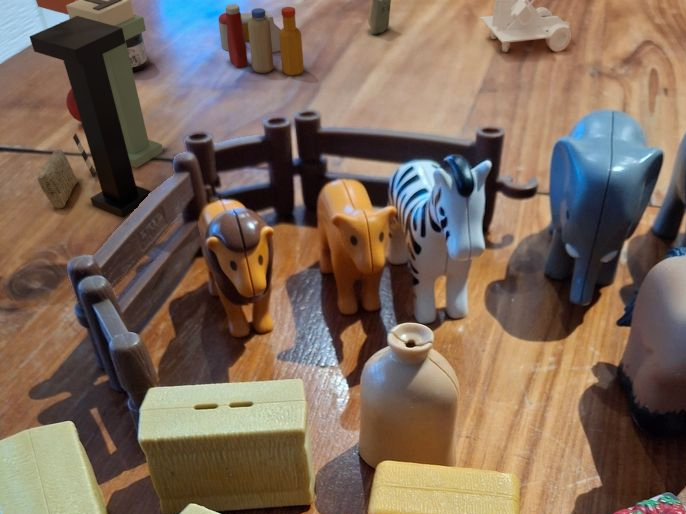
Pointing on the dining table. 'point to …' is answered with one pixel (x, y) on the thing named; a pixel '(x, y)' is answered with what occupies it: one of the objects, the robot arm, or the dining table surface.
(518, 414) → the dining table surface
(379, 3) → the olive upright narrow post
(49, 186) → the cuneiform tablet
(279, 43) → the toy food
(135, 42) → the ink bottle
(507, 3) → the catapult
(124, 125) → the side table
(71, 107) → the onion
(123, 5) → the beige flat block
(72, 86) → the tall stand
